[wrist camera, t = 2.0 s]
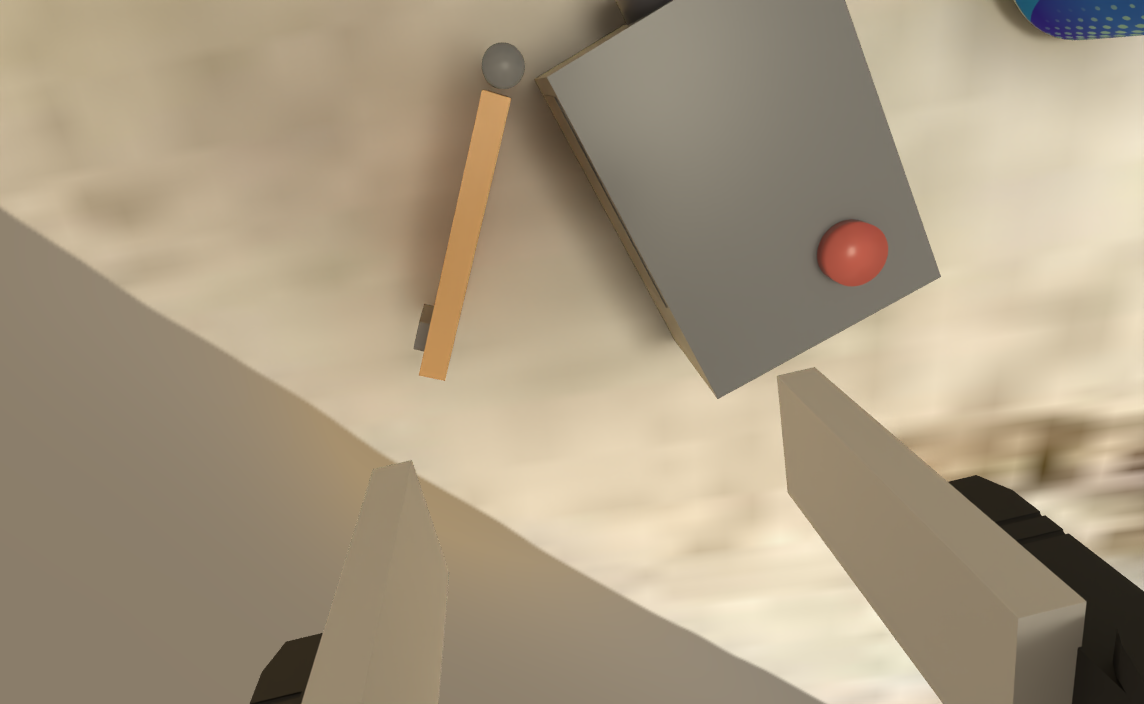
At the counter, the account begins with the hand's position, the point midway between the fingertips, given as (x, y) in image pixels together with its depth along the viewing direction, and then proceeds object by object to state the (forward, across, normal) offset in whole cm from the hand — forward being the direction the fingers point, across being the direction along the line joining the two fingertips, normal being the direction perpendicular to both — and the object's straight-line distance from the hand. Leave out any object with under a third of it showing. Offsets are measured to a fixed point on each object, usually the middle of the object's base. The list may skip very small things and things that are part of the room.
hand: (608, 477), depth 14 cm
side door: (+19, -3, +3) cm, 20 cm away
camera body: (+20, +8, +2) cm, 22 cm away
